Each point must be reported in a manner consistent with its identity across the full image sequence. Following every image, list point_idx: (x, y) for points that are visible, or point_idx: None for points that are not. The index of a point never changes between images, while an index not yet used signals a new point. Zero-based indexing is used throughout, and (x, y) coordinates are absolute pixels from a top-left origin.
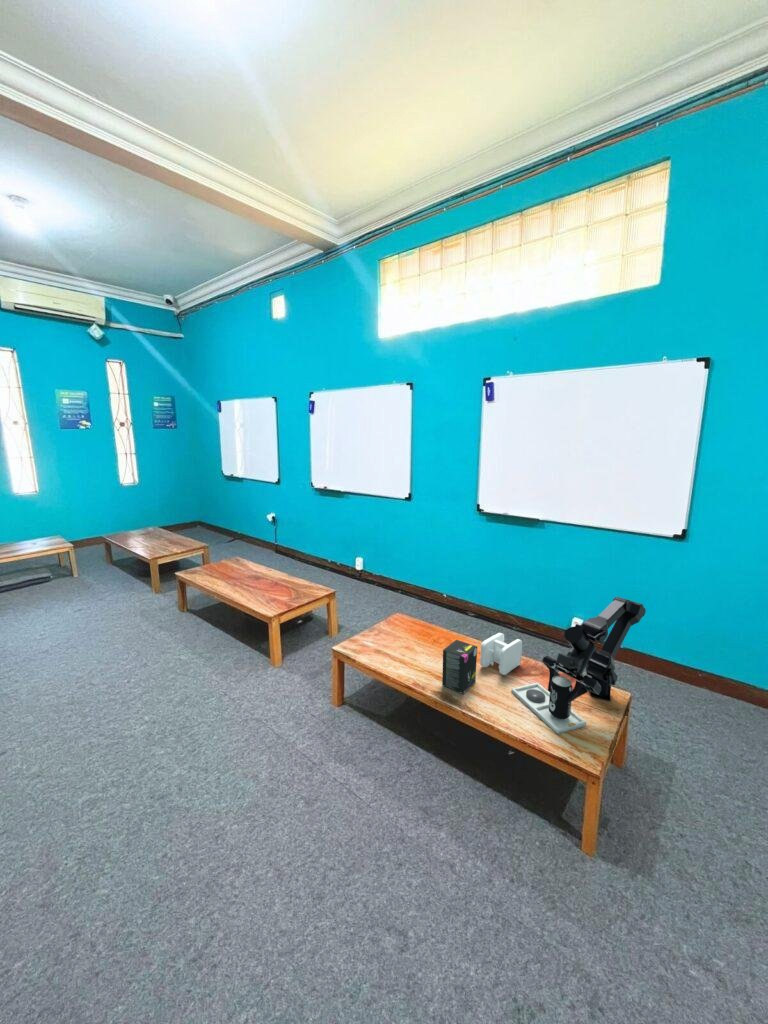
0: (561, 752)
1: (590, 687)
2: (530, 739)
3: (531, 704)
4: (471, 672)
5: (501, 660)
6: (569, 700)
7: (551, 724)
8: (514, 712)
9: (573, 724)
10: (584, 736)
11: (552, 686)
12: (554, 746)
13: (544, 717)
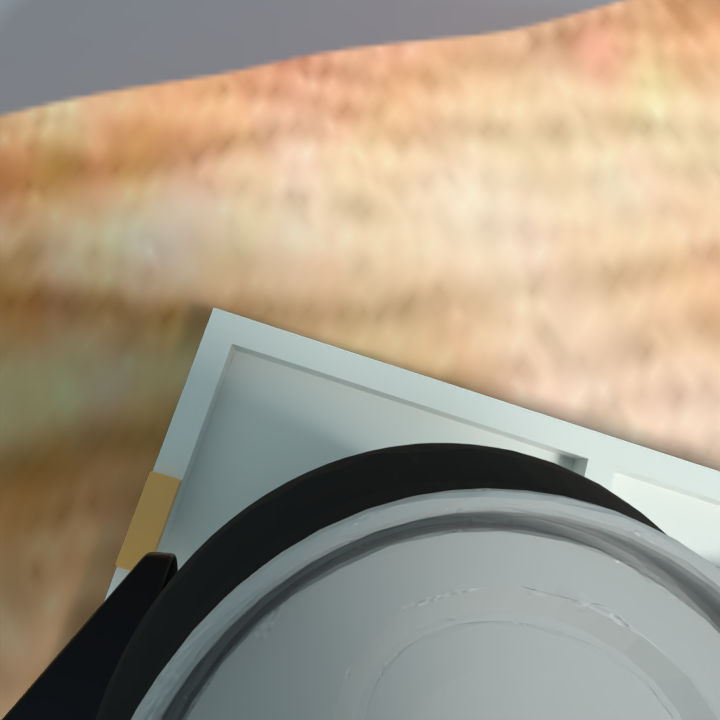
0: (67, 123)
1: None
2: (346, 62)
3: (656, 478)
4: None
5: None
6: (121, 594)
7: (309, 341)
8: (675, 272)
9: (128, 541)
10: (3, 530)
11: (578, 477)
12: (151, 145)
13: (426, 388)
